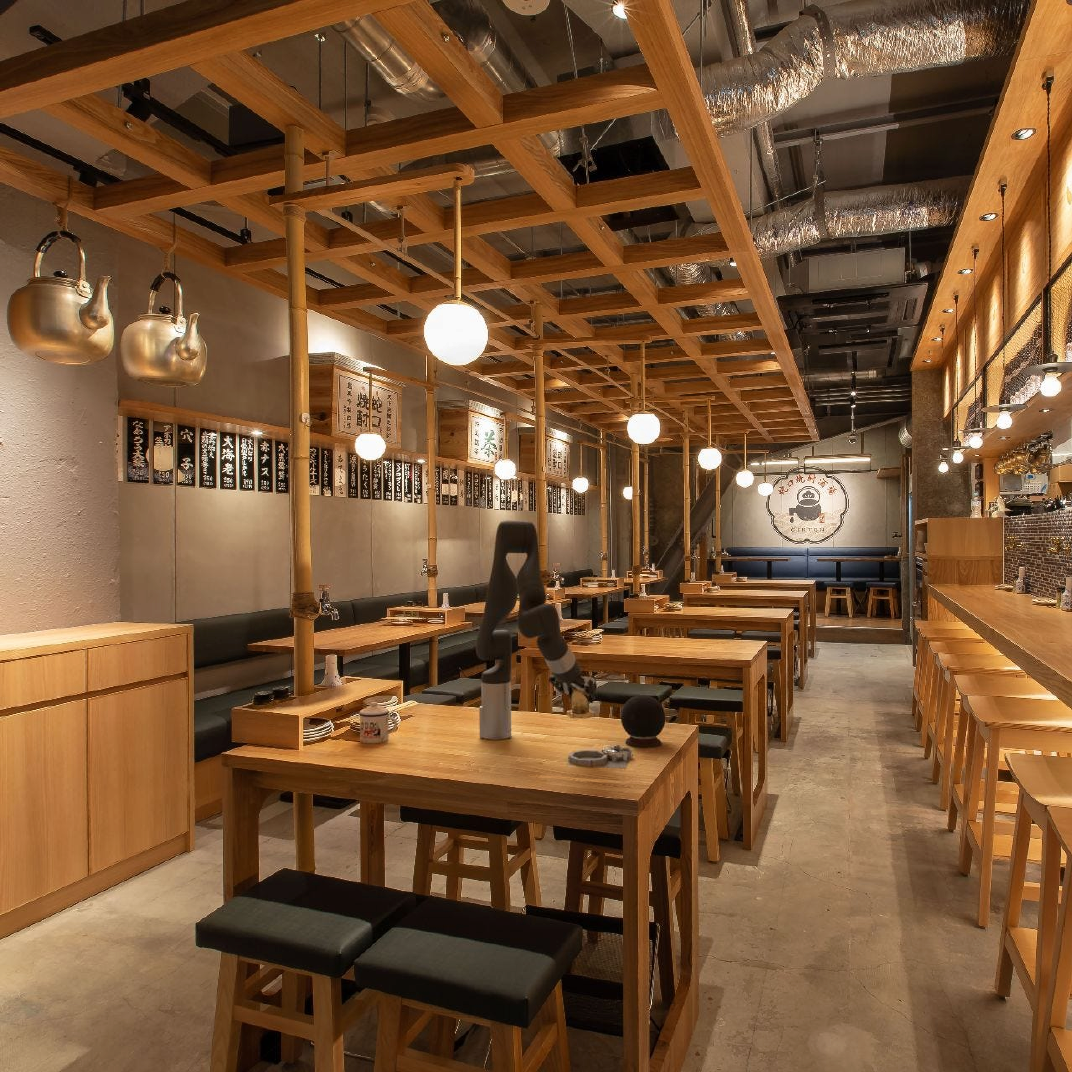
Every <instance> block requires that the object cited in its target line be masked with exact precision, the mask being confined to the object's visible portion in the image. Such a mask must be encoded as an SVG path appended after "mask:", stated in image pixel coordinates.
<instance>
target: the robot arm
mask: <svg viewBox="0 0 1072 1072" xmlns="http://www.w3.org/2000/svg"><path fill="white" fill-rule="evenodd" d="M494 541H495V543H494V544H495V545H494V549H493V561H492V566H491V567H492V568H491V572H490V577H489V581H488V586H487V591H486V596H485V601H484V602H485V604H484V610H483V615H482V618H481V622H480V625H479V626H480V627H479V628H478V633H477V635H476V642H475V653H476V656H477V658H478V659H479V660H482V661H498V662H497V663H496V664H495V665H494V666H493V667H491V668H489V669H487V670H484V671H482V673H481V676H480V677H481V678H480V679H481V680H480V681H481V682H480V683H481V686H480V687H481V705H480V706H479V707H478V708H479V711H478V713H479V718H478V719H479V738H481V739H485V740H491V741H494V740H495V741H498V740H506V739H509V738H511V737H512V680H511V678H512V677H511V676H512V657H513V656H512V654H513V653H512V652H513V651H512V650H513V639H512V635H511V633H510V631H509V630H507V629H496V628H497V627H498V626H499V625H500V623H502V622H503V621H504V620H505V619H506V618H507V617H508V616H509V615H510V614H512V612H513V610H514V609H515V607H516V605H517V601H519V602H518V603H519V604H518V605H519V607H518V611H517V613H518V614H517V627H518V630H519V633H520V634H521V635H522V636H523V637H524V638H525V639H534V638H536V637H537V638H536V645H537V648H538V650H539V651H540V653H541V655H542V657H543V658H544V660H545V661H544V662H545V663H546V666H547V667H548V668H549V670H550V672H551V673H550V675H549V678H548V682H549V683H550V684H551V685H552V686H553V687H554V688H555V689H556V691H558V692H559V693H564V694H566V695H567V697H569V699H570V700H571V701H572V687H575V688H576V689H578V690H579V691H580V692H583V693H584V694H585V695H586V698H587V699H588V701H589V704H593V703H594V702H595V699H596V696H595V694H596V691H597V688H598V687H597V686H598V685H597V681H596V676H595V675H593V674H592V675H590V676H586V675H585V673H583V672H582V669H581V665H580V663H579V661H578V659H577V658H576V655H575V654H574V652H573V650H572V648H571V646H569V644H568V643H567V641H566V639H565V637H564V636H563V632H562V631H561V627H560V618H559V613H558V611H557V608H556V607H555V606H554V605H553V604H550V603H546V601H547V594H546V590H545V586H544V582H543V578H542V574H541V573H542V572H541V564H540V552H539V551H540V549H539V539H538V533H537V528H536V526H535V524H534V523H533V522H531V521H527V520H509V519H508V520H507V519H505V520H501V521H500V522H499V524H498V526H497V530H496V533H495V540H494ZM509 554H526V558H525V561H524V562H523V564H522V565H521V567H520V569H519V571H518V572H517V574H516V575H517V576H515V574H514V571H513V570H512V569H511V567H510V565H509V562H508V560H507V555H509ZM518 599H519V600H518ZM585 688H587V690H586V689H585Z"/></svg>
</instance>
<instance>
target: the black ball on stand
mask: <svg viewBox="0 0 1072 1072" xmlns="http://www.w3.org/2000/svg"><path fill="white" fill-rule="evenodd" d="M666 719H667V717H666V713H665V709H664V707H663V706H662V703H660V702H659V701H658V700H657V699H656V698H654V697H652V696H650V695H648V694H647V695H646V694H638V695H635V696H632V697H630V698H629V699H628V700H626V702H625V703H624V705H623V707H622V708H621V712H620V721H621V726H622V728H623V730H624V731H625V732H626V733H627V734H628V736H629V737H627V739H625V742H624V743H625V745H626V746H628V747H631V748H632V747H633V748H638V749H651V748H658V747H661V746H662V741H661V739H660V738H658V736H659V735H660V734H661V733H662V731H663V729H664V727H665V724H666Z"/></svg>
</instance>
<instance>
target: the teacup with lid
mask: <svg viewBox="0 0 1072 1072" xmlns="http://www.w3.org/2000/svg"><path fill="white" fill-rule="evenodd" d="M358 714H359V741H360V742H361V743H363V744H379V743H380V744H381V743H385V742H387V741H388V740H389V735H390V734H392V733H394V732H395V731H396V730H397V727H398V720H397V719H396V718H395V717H392V716H389V714H390V711H389V709H388V708H386V707H383V706H381V705H379V704H378V702H376V701H373V702H371V703H370V705H369V706H367V707H365V708H363V709H361V710H359V713H358ZM389 720H390V721H392V722H393V724H394V725H393V728H392V730H389Z"/></svg>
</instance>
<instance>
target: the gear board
mask: <svg viewBox="0 0 1072 1072" xmlns="http://www.w3.org/2000/svg"><path fill="white" fill-rule="evenodd" d="M633 756H634V754H633V753H632V757H633ZM567 757H568V760H567V763H566V764H565V765H568V766H569V765H570V766H582V767H593V768H594V767H596V768H597V767H598V768H610V769H625V770H626V768H627V767H628V765H629V763H630V761H631V759H632V758H631V759H627V761H612V760H608V754H603V752H602V750H597V749H596V750H593V749H581V750H574V751H571V752H570V753H568V756H567Z"/></svg>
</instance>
